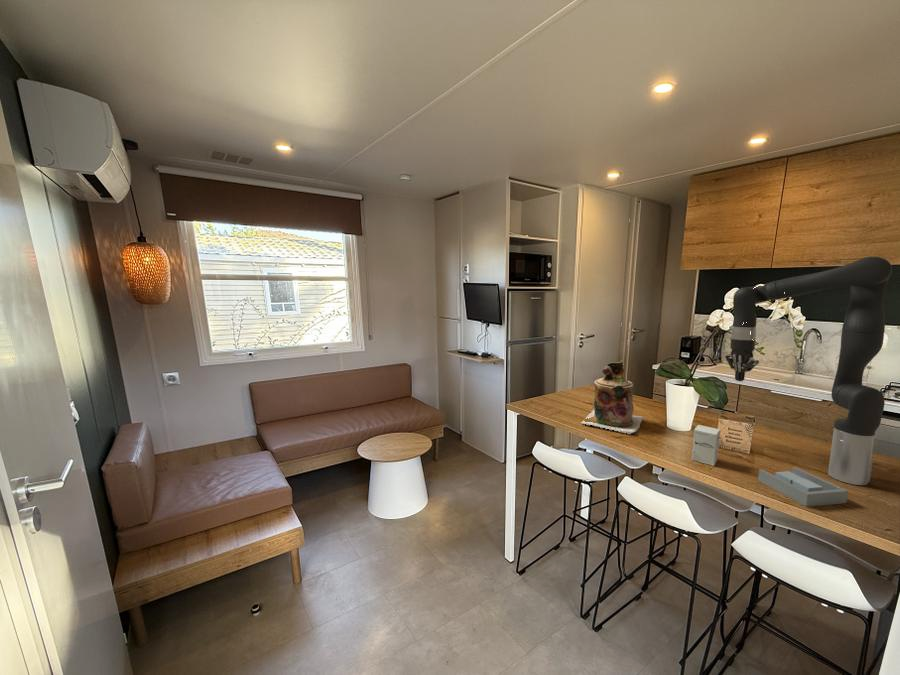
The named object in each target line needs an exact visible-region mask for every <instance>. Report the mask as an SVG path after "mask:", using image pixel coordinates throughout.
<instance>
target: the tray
mask: <svg viewBox="0 0 900 675" xmlns="http://www.w3.org/2000/svg"><path fill="white" fill-rule="evenodd" d="M791 473H794V474H796V475H798V476H800V477H802V478H804V479H807V480H809V481H811V482H813V483H815V484H818V485H820V486H822V487H823V490H822V491H811V492H806V491H804V490H802V489H800V488H798V487H796V486H794V485H792V484H790V483H788V482H786V481H784V480H782V479H780V478H778V477H776V476H775V474H772V473H771V472H768V471H766V470H764V469H759V470H758V476H757V481H758V482H760V483H762V484H763V485H766V487H770V488H771V489H773V490H775V491H777V492H778V493H780V494H782V495H784V496H785V497H787V498H789V499H791V500H793V501H795V502H796V503H799V504H800V505H801V506H804V507H815V506H816V507H817V506H819V507H820V506H828V505H830V506H831V505H841V504H847V503H848V502H847V501H848V495H849V490H847V489H845V488H843V487H842V486H841V487H840V486H838V485H837V484H834V483H832V482H830V481H827V480H826V479H823V478H821V477H819V476H816V475H814V474H812V473H810V472H808V471H806V470H803V469H802V468H799V467H797V466H792V468H791Z"/></svg>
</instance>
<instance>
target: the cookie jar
mask: <svg viewBox="0 0 900 675" xmlns="http://www.w3.org/2000/svg"><path fill="white" fill-rule="evenodd" d="M623 363H624V359H623V360H621V361H618V362H617V361H612V362H609V363H607V364H606V365H605V366H604V368H603V369H601V370H602V371H601V372H602V374H604V376H603V377H601V378H597V379H596V380H594V382H593V384H594V388H595V389H594V397H593V405H592V408H593V409H592V411H591V412H590V413H589V414H588V415H587V416H586V417H585V418H584V420H585V419H587V418H588V419H589V418H591V417H594V420H595V421H596V422H597V423H593V422H585V421H584V420H583V421H581V422H580V423H582V424H581V425H585V424H586V426H590V425H592V427H593V426H594V427H596V428H599V427H600V429H603V428H605V429H604V430H607V429H609V430H608V431H612V430H614V431H613V432H617V431H618V433H624V434H626V433H627V435H631V434H633V433H636V432H637V431H638V430H639V428H640V426H641V423H642V421H643V419H644V416H641V415H633V413H634V403H633V401H634V400H633V398H634V397H633V393H632V392H633V391H632V390H633V389H634V387H635V386H634V383H633V382H632V381H629V380H627V379H625V378H624V373H625V368H624V364H623Z"/></svg>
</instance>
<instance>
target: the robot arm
mask: <svg viewBox="0 0 900 675" xmlns="http://www.w3.org/2000/svg"><path fill="white" fill-rule="evenodd" d="M892 273H893V265H892V263H891V262H890V261H888V259H886V258H883V257H880V256H867V257H862V258H859V259H857V260H856V261H853V262H849V263H847V264H845V265H842V266H838V267H834V268H830V269H828V270H824V271H819V272H814V273H809V274H808V273H807V274H803V275H798V276H797V275H796V276H792V277H787V278H783V279H779V280H778V279H777V280H774V281H770V282H768V283H764V284H762V285H764V286H758V285H753V286H746V287H741V288H739V289H737V290H736V291H735V292H734V294H733V300H732V301H733V302H732V303H733V304H732V305H733V320H732V321H733V322H732V329H731V335H730V344H729V345H730V349H731V351H730V353H729V354H728V355H725V356H724V358H725V360H726V362H727V364H728V366H729V367H730V369H732V370H734V373H735V374H734V380H735V381H738V382H743V381H744V380H745V378H746V373H747V372H750V371H752V370H753V369H754V368H755V367H756V366H757V365H758V364H759V362H760V361H759V360H758V359H755V358H754V353H753V352H754V351H755V348H756V338H757V320H758V319H757V318H758V317H757V313H756V304H760V303H765V302H769V301H777V300H784V299H788V298H794V297H798V296H804V295H808V294H811V293H812V294H813V293H815V292H820V291H824V290H831V289H836V288H845V287H850V299H849V304H848V307H847V309H846V313H845V316H844V320H843V324H842V327H841V330H842V331H841V336H840V348H839V358H838V364H837V369H836V373H835V376H834V380H833V384H832V389H831V399H832V401H833V403H834V404H835V405H837V406H838V407H841V408H843V409H846V410H848V413H847V417H846V418H844V417H843V418H836V419H835V420H834V424H833V433H832V439H831V440H832V442H831V449H830V455H829V456H830V457H829V464H828V471H827V472H828V473H827V474H828V475H829V476H830V477H831V478H833V479H835V480H836V481H840V482H843V483H846V484H850V485H857V486H867V485H868V483H870V481H871V478H872V477H871V476H872V468H873V462H874V455H873V449H874V442H875V435H876V431H877V430H878V428H879V427H880V426H881V425H880V424H881V423H882V417H883V414H884V407H885V401H886V400H885V397H884V395H883V393H882V392H881V390H878V389H877V388H874V387H870V386H867V385H863V376H864V372H865V369H866V367H868V366H867V365H869V363H870V362H872V360H873V359H874V358H875V357H876V356H877V355H878V354H879V352H880V351H881V350H882V347H883V344H884V338H885V326H886V321H885V320H886V318H885V315H886V314H885V307H884V303H885V301H884V300H885V294H886V290H887V288H888V287H887V286H888V283H889V280H890V277H891V275H892ZM756 286H758V287H756ZM754 287H756V288H754ZM753 288H754V289H753ZM784 292H785V294H784ZM743 322H744V324H743ZM746 322H747V323H746ZM742 324H743V325H742ZM750 331H751V335H750ZM752 339H753V340H754V341H753V340H752Z"/></svg>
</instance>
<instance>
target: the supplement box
mask: <svg viewBox="0 0 900 675" xmlns="http://www.w3.org/2000/svg"><path fill="white" fill-rule="evenodd" d="M720 436H721V429H719V428H715V427H709V426H707V425H706V426H705V425H701V424H697V426H695V428H694V430H693V439H692V440H693V441H692V450H691V451H692V452H691V461H695V462H699V463H703V464H706V465H709V466H712V467H715V464H716V463H717V461H718V457H719V455H718V454H719V447H720Z"/></svg>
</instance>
